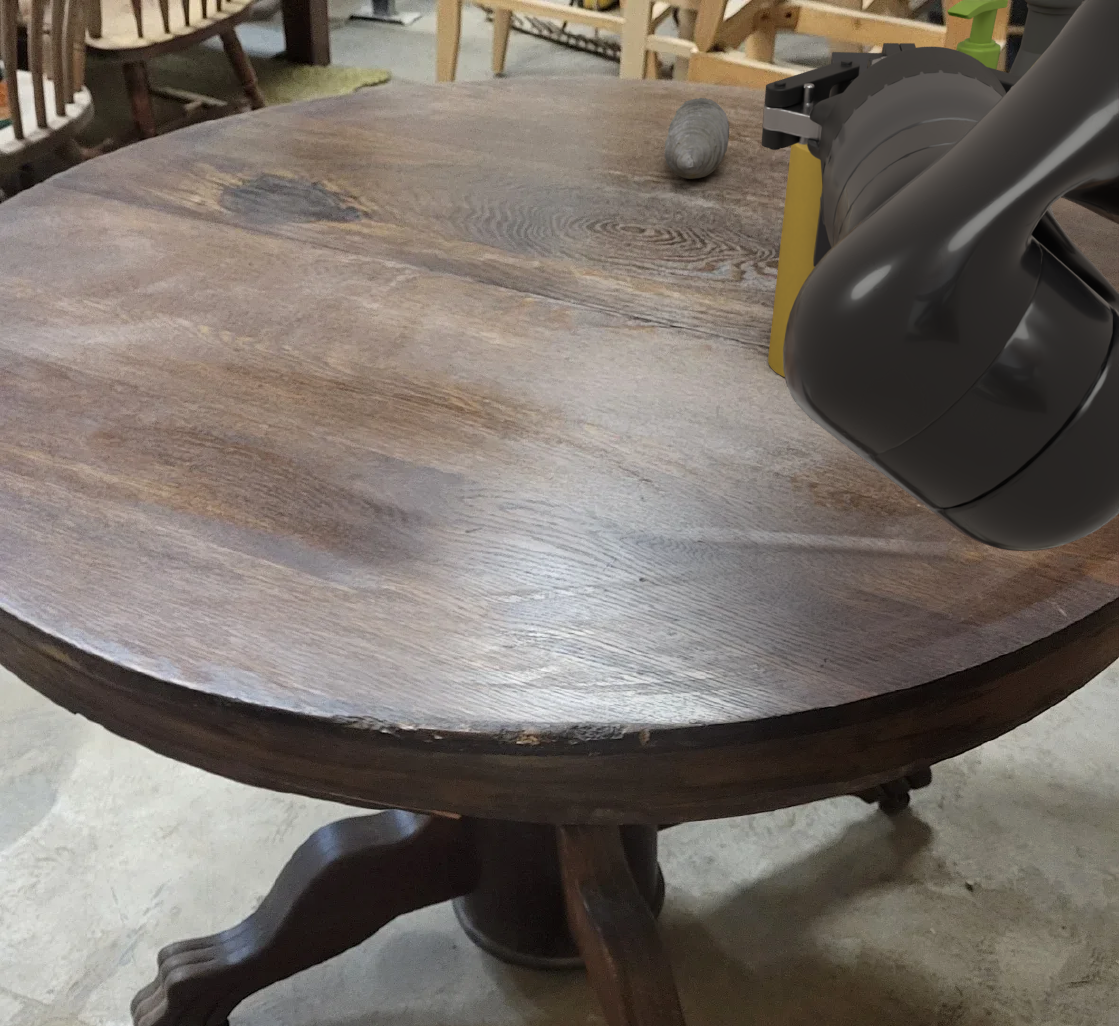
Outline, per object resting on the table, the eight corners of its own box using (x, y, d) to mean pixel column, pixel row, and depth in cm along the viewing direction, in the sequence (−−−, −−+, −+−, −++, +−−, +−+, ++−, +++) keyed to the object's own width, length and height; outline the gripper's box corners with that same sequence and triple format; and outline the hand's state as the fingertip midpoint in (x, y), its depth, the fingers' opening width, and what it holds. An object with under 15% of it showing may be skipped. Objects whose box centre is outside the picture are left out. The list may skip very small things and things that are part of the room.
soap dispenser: (883, 253, 108) (926, -1, 95) (930, 233, 111) (977, -15, 98) (940, 273, 104) (992, 12, 91) (986, 252, 108) (1043, -3, 95)
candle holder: (972, 207, 116) (1037, -103, 100) (1040, 214, 114) (1117, -100, 98) (967, 231, 111) (1034, -90, 95) (1038, 238, 110) (1118, -86, 94)
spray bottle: (859, 344, 94) (908, 37, 80) (867, 413, 86) (924, 84, 72) (768, 340, 95) (800, 35, 81) (767, 407, 87) (803, 81, 73)
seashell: (651, 165, 117) (675, 75, 115) (659, 176, 130) (680, 95, 127) (715, 183, 117) (740, 93, 114) (716, 192, 130) (739, 111, 127)
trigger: (858, 261, 81) (872, 168, 77) (859, 269, 80) (874, 175, 76) (812, 259, 82) (824, 167, 78) (813, 267, 81) (825, 173, 77)
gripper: (1136, 76, 43) (1054, -22, 56) (755, 72, 45) (763, -23, 58) (1082, 285, 48) (1019, 149, 61) (740, 274, 49) (751, 144, 62)
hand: (894, 66), depth 59 cm, fingers closed
